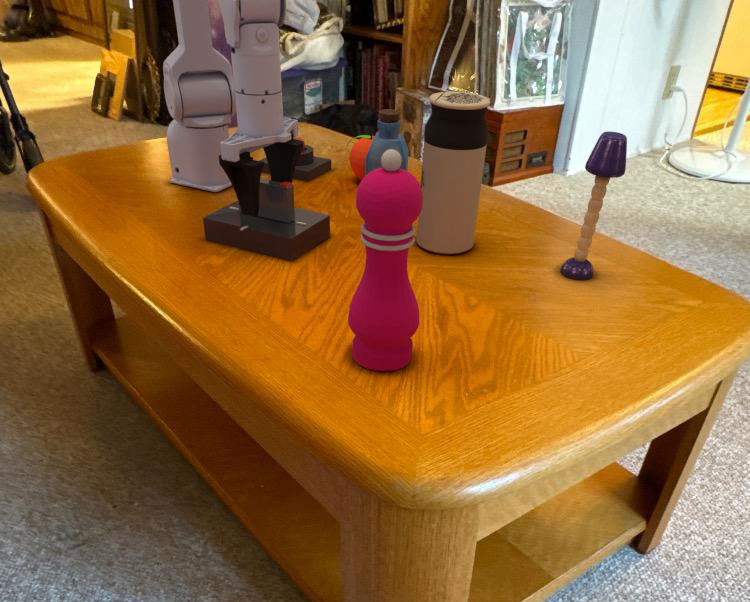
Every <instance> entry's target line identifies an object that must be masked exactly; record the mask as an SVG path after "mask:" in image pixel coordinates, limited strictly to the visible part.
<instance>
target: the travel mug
mask: <svg viewBox="0 0 750 602" xmlns="http://www.w3.org/2000/svg"><path fill="white" fill-rule="evenodd" d="M428 100H429V102H430V105H431V109H430V110H431V114H430V115H429V118H428V120H427V122H426V123H425V125H424V137H423V150H422V163H421V174H420V175H421V176H420V186H421V190H422V194H423V205H422V210H421V213H420V215H419V216H418V218H417V227H416V241H415V242H416V243H417V244H418V246H419V247H421V248H423V249H424V250H426V251H428V252H432V253H434V254H440V255H458V254H461V253H465V252H467V251H469V250H471V249H472V248H473V247H474V242H475V235H476V227H477V220H478V214H479V213H478V212H479V206H480V198H481V190H482V184H483V176H484V168H485V161H486V154H487V145H488V140H489V139H488V137H489V127H488V124H487V121H486V114H487V111H488V108H489V106H490V105H491V99H490V98H489V97H487V96H485V95H482V94H478V93H474V92H467V91H440V92H435V93H432V94H431V95H430V96H429V98H428Z"/></svg>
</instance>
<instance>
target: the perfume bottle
mask: <svg viewBox="0 0 750 602" xmlns="http://www.w3.org/2000/svg"><path fill="white" fill-rule="evenodd" d="M378 113H379V119H377V129H378V131H376V133H375V135H374V136H375V137H374V139H373V142H372V144H371V146H370V148H369V151H368V154H367V156H366V166H365V176H366V175H367V174H368V173H369V172H371V171H373V170H375V169H378V168H382V167H383V166H382V164H381V158H382V155H383V154H384V152H385V151H387V150H389V149H394V150H396V151H398V152H399V154H400V156H401V160H402V162H401V166H400V167H399V168H400V169H403V170H406V171H408V169H409V153H410V151H409V147H408V144H407V142H406V139H405V137H404V134H403V133H399V131H400V130H401V120H400V115H401V112H400V110H397V109H389V108H388V109H387V108H385V109H384V108H383V109H380V110H379V111H378Z"/></svg>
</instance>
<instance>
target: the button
mask: <svg viewBox="0 0 750 602" xmlns="http://www.w3.org/2000/svg"><path fill="white" fill-rule="evenodd" d="M293 139H296V140H301V141H303V150H302V152H303V151H305V145H306V144H305V143H306V142H305V139H304V138H301V137H293Z"/></svg>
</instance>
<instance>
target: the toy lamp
mask: <svg viewBox="0 0 750 602" xmlns="http://www.w3.org/2000/svg"><path fill="white" fill-rule="evenodd" d="M627 152H628V137H627V136H626V135H625V134H624V133H621V132H618V131H604V132H601V134H600V136H599V137H598V139H597V141H596V143H595V145H594V147H593V149H592V150H591V152H590V154H589V156H588V158H587V160H586V162H585V166H584V168H585V171H586V172H587V173H589V174H591V175H593V176H594V185H593V187H592V188H591V192H590V196H591V197H590V199H589V200H588V203H587V210H586V212H585V214H584V217H583V224H582V225H581V228H580V235H579V237H578V239H577V243H576V244H577V247H576V248H575V250H574V253H573V256H572V257H570V258H568V259H566V260H565V261H564V262H563V263H562V264H561V267H560V273H561V274H562V275H563V276H565V277H567V278H570V279H573V280H578V281H579V280H581V281H582V280H589V279H591V278H592V277H593V276H594V266H593V264H592V262H591V261H590V260H588V259H587V258H588V256H589V249H590V247H591V246H592V242H593V236H594V235H595V233H596V229H597V228H596V227H597V226H596V225H597V223H598V222H599V219H600V212H601V210H602V208H603V205H604V200H603V199H605V197H606V194H607V187H608V185H609V183H610V180H611V179H613V178H614V179H615V178H621V177H623V176H624V175H625V173H626V168H627Z"/></svg>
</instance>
